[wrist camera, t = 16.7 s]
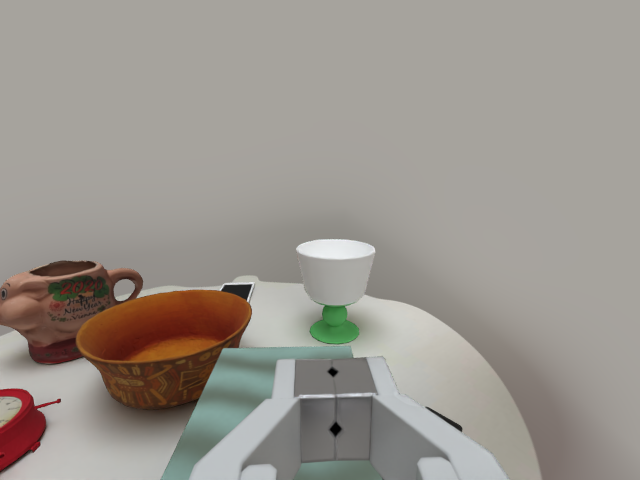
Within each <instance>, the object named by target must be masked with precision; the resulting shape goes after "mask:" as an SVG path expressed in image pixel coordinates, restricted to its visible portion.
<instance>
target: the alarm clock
mask: <svg viewBox="0 0 640 480" xmlns="http://www.w3.org/2000/svg"><path fill="white" fill-rule="evenodd" d="M60 402H61V399H57V401H54V402H50V403H45V404H42V405H38V406H34V400H33V397H32V395H30V393H29V392H28V391H26V390H23V389H3V390H0V470H2V469H4V468H5V467H7V466H8V465H10V464H11V463H13V462H14V461H15V460H17V459H18V458H19V457H21V456H22V455H23V454H24V453H26V452H27V451H28V450H33V452H34V451H35V450H36V449H37V448H38V447H39V446H40V442H37V440H38V439H39V438H40V436H41V435H42V433H43V431H44V429H45V426H46V420H45V416H44V414H43V413H42V412H40V411H39V410H37V409H38V408H41V407H45V406H47V405H51V404H54V403H60Z"/></svg>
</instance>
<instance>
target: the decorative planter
mask: <svg viewBox="0 0 640 480" xmlns="http://www.w3.org/2000/svg"><path fill="white" fill-rule="evenodd" d="M122 279H129V280H131V281H132V282H133V283H134V284H135V290H134V292H133V293H132V294H131V296H130V297H129V298H128V299H126V300H124V301H117V300H116V299H115V297H114V291H113V289H114V286H115V283H117V282H118V281H119V280H122ZM142 286H143V280H142V277H141V276H140V275H139V273H138V272H136V271H135V270H132V269H126V268H120V269H114V270H106V269H104V267H103V266H102V265H101V264H100V263H98V262H94V261H93V262H92V261H58V262H54V263H50V264H47V265H43V266H40V267H37V268H34V269H32V270H29V271H26V272H23V273H20V274H17V275H14V276H12V277H11V278H9V279H8V280H6V282H5V283H4V284H3V285H2V287H1V288H0V325H4V326H8V327H11V328H13V329H15V330H17V331H18V332H19V333H20V334H21V335H23V336H24V337H25V338H26V339H27V341H28V347H29V353H30V356H31V358H32V359H33V360H34V361H36V362H40V363H46V364H54V363H60V362H65V361H69V360H73V359H77V358H80V357H83V356H82V355H81V353H80V351H79V350H78V348H77V347H76V336H77V333H78V331H79V330H80V328H81V326H82V325H83V324H84V323H85V322H86V321H87V320H89V319H90V318H92V317H93V316H95V315H97V314H98V313H100V312H102V311H104V310H106V309H109V308H111V307H113V306H116V305H119V304H122V303H124V302H126V301H129V300H132V299H136V297H137V296H138V294H139V293H140V291H141V289H142Z"/></svg>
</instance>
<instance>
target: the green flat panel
mask: <svg viewBox="0 0 640 480" xmlns="http://www.w3.org/2000/svg"><path fill="white" fill-rule="evenodd" d="M345 358H353V354H352V350H351V346H322V347H269V348H223V350H222V352H221V354H220V356H219V358H218V360H217V362H216V364H215V367H214V369H213V371H212V373H211V375H210V377H209V379H208V381H207V383H206V386H205V388H204V390H203V392H202V394H201V396H200V398H199V400H198V402H197V404H196V407H195V409H194V411H193V413H192V415H191V417H190V419H189V421H188V423H187V426H186V428H185V430H184V432H183V434H182V436H181V438H180V440H179V442H178V444H177V447H176V449H175V451H174V453H173V455H172V457H171V459H170V461H169V463H168V466H167V468H166V470H165V472H164V474H163V476H162V478H161V480H189V478H190V475H191V473H192V470H193V467H194V465H195V464H196V463H197V462H198V461H199V460H200V459H202V458H203V457H204V456H205V455H206V454H207V453H208V452H209V451H210V450H211V449H212V448H213V447H214V446H216V445H217V444H218V443H219V442H220V441H221V440H222V439H223V438H224V437H225V436H226V435H227V434H228V433H230V432H231V431H232V430H233V429H234V428H235V427H236V426H237V425H238V424H239V423H240V422H241V421H242V420H244V419H245V418H246V417H247V416H248V415H249V414H250V413H251V412H252V411H253V410H254V409H255V408H256V407H258V406H259V405H260V404H261V403H262V402H263V401H264V400H265V399H271V396H272V389H273V382H274V375H275V368H276V362H277V360H278V359H295V360H296V359H345ZM293 480H382V477H381V476H380V474H379V473H378V472H377V471H376V469H375V468H374V467H373V466H372V464H371V463H370V460H363V461H326V462H312V463H301V467H300V468H299V470H298V472H297V474H296V475H295V477H294V479H293Z"/></svg>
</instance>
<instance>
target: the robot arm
mask: <svg viewBox="0 0 640 480" xmlns="http://www.w3.org/2000/svg"><path fill="white" fill-rule="evenodd" d="M363 460H370V463H371V464H372V466H373V467H374V468H375V469H376V471H377V472H378V473H379V474H380V476H381V477H382V478H383V479H384V480H510V479H509V477H508V476H507V474H506V473H505V471H504V470H503V468H502V467H501V465H500V464H499V462H498V461H497V459H496V458H495V456H494V455H493V453H492V452H490V451H489V450H487V449H486V448H484V447H483V446H481V445H480V444H478V443H477V442H475V441H474V440H472V439H471V438H469V437H468V436H466V435H465V434H463V433H462V432H461V431H459V430H458V429H456V428H455V427H453V426H452V425H450V424H449V423H447V422H446V421H444V420H443V419H441V418H440V417H438V416H437V415H435V414H434V413H432V412H431V411H430V410H428V409H427V408H425V407H424V406H422V405H421V404H419V403H418V402H416V401H415V400H413V399H412V398H410V397H409V396H407V395H406V394H402V395H400V392H399V390H398V388H397V385H396V383H395V381H394V379H393V376H392V374H391V372H390V369H389V367H388V365H387V363H386V360H385V358H384V357H383V356H377V357H364V358H345V359H296V360H295V359H278V360H277V362H276V368H275V375H274V382H273V389H272V396H271V399H265V400H264V401H263V402H262V403H261V404H260V405H259V406H258V407H256V408H255V409H254V410H253V411H252V412H251V413H250V414H249V415H248V416H247V417H246V418H245V419H244V420H242V421H241V422H240V423H239V424H238V425H237V426H236V427H235V428H234V429H233V430H232V431H231V432H230V433H228V434H227V435H226V436H225V437H224V438H223V439H222V440H221V441H220V442H219V443H218V444H217V445H216V446H214V447H213V448H212V449H211V450H210V451H209V452H208V453H207V454H206V455H205V456H204V457H203V458H202V459H200V460H199V461H198V462H197V463H196V464H195V465H194V467H193V470H192V473H191V475H190V478H189V480H293V479H294V477H295V475H296V474H297V472H298V470H299V468H300V467H301V463H312V462H326V461H363Z"/></svg>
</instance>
